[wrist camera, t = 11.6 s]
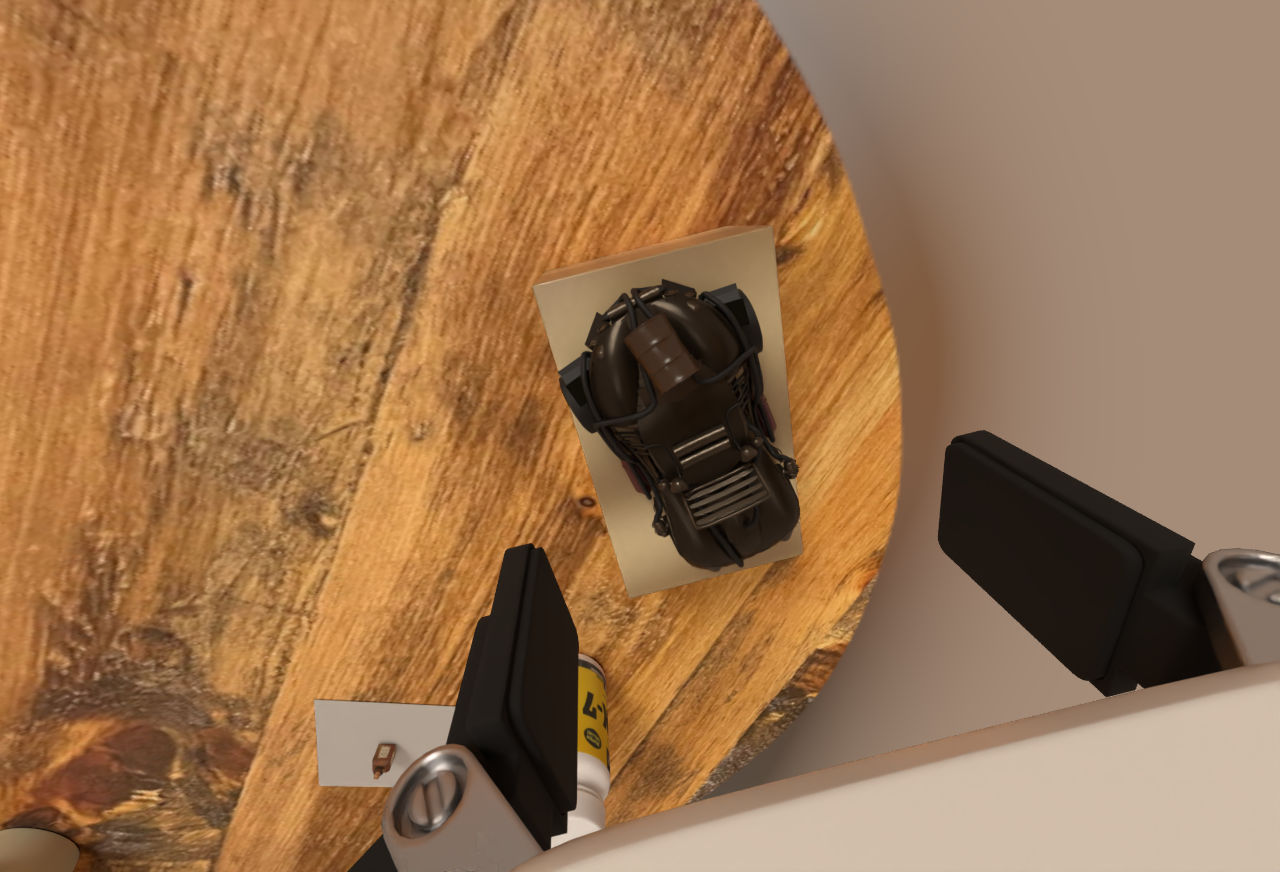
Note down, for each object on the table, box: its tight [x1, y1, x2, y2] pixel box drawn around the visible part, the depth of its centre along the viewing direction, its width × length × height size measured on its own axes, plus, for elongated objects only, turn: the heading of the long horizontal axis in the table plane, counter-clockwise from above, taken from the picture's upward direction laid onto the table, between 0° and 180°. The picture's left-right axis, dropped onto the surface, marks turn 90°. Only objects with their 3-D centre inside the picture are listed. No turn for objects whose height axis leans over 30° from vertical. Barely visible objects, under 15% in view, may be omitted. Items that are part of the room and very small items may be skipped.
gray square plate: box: [314, 700, 455, 787], centre depth 28 cm, size 8×8×2 cm
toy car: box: [558, 279, 801, 572], centre depth 15 cm, size 6×12×4 cm, turn 25°
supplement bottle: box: [551, 653, 610, 848], centre depth 24 cm, size 5×5×8 cm
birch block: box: [532, 226, 803, 598], centre depth 19 cm, size 13×8×5 cm, turn 13°
